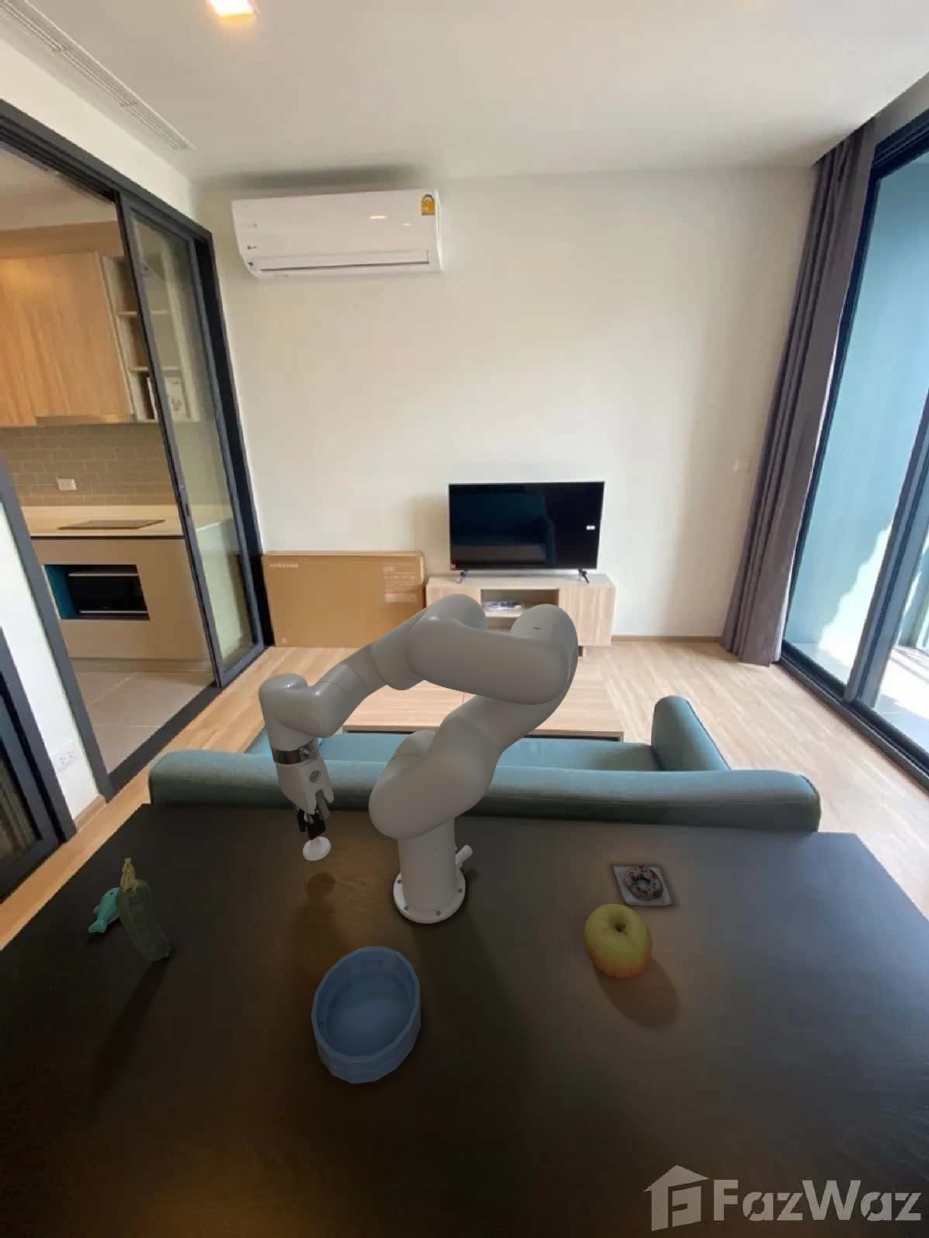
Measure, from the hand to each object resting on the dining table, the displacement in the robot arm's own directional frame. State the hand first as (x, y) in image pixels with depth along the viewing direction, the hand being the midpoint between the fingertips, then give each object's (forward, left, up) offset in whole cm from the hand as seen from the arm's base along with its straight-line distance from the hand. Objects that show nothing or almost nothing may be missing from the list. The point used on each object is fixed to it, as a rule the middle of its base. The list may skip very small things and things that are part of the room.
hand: (313, 830), depth 89 cm
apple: (-20, +49, -9) cm, 54 cm away
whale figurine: (+28, -19, -9) cm, 35 cm away
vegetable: (+26, -5, -9) cm, 28 cm away
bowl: (+10, +27, -9) cm, 31 cm away
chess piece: (0, 0, -5) cm, 5 cm away
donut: (-35, +47, -9) cm, 59 cm away
